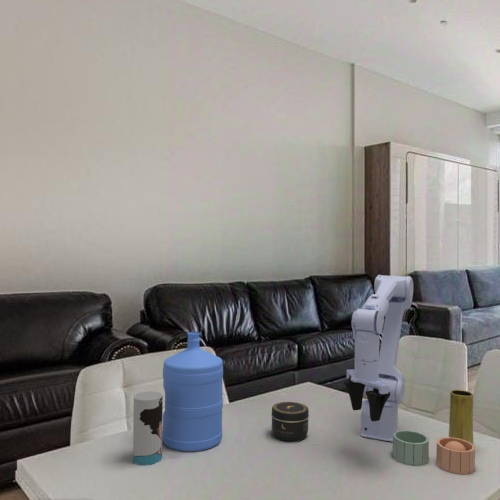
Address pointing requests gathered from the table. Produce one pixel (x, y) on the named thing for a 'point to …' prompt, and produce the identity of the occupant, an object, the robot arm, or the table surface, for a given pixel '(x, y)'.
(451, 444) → the ball
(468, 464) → the salmon slatted bowl
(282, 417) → the jar
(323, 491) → the table surface
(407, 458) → the green faceted bowl
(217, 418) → the water jug
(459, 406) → the vase
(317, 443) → the table surface
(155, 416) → the white printed cylinder
